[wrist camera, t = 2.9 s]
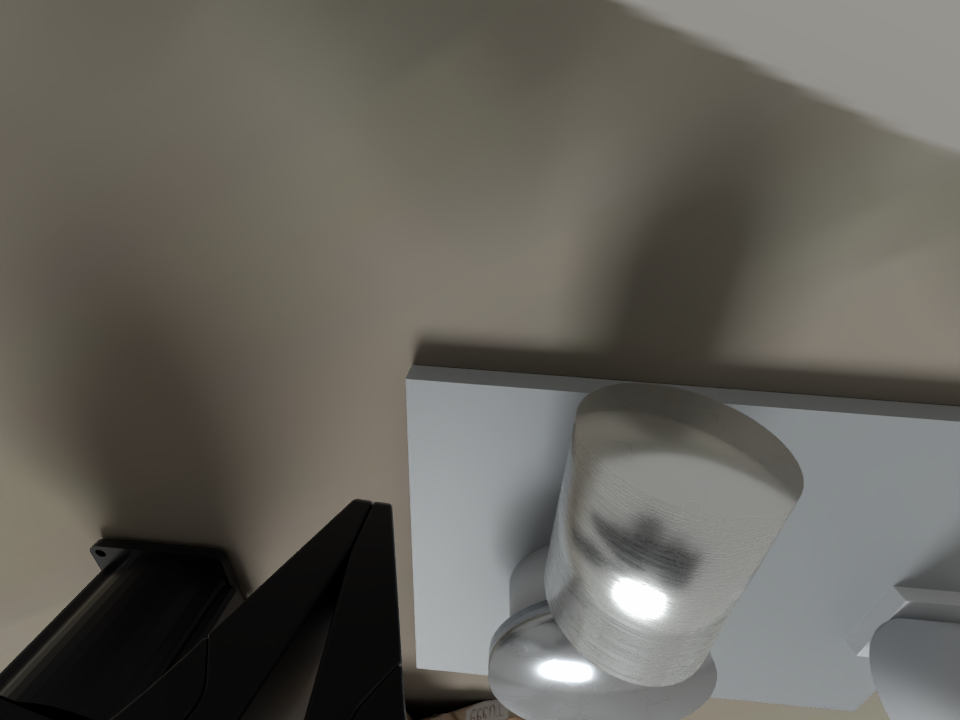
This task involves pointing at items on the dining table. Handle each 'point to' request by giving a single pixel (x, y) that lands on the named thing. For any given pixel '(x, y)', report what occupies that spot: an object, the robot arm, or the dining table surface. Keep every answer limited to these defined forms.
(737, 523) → the elbow
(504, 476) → the grey plate with knobs
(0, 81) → the dining table surface
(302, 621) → the robot arm
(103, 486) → the dining table surface
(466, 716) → the fossil
